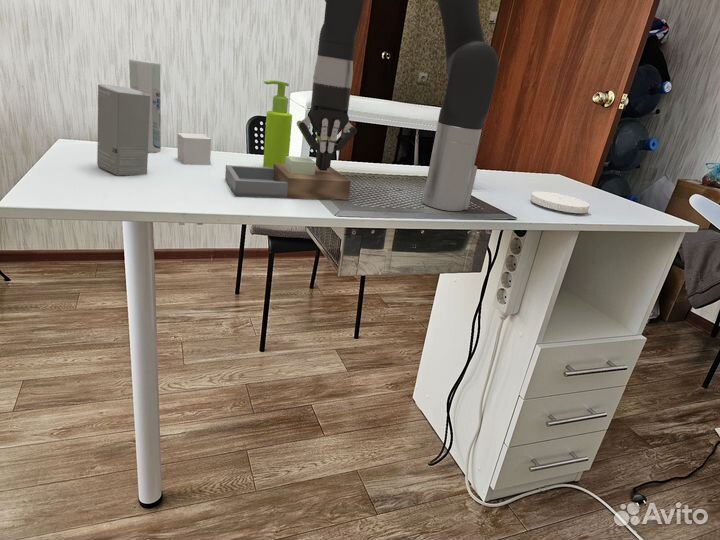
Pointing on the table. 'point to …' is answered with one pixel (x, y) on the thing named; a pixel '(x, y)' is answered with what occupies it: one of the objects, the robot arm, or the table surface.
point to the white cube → (194, 149)
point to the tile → (300, 165)
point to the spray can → (148, 82)
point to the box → (254, 182)
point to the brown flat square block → (313, 184)
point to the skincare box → (123, 130)
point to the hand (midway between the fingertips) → (322, 169)
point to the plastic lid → (559, 202)
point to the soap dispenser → (277, 128)
